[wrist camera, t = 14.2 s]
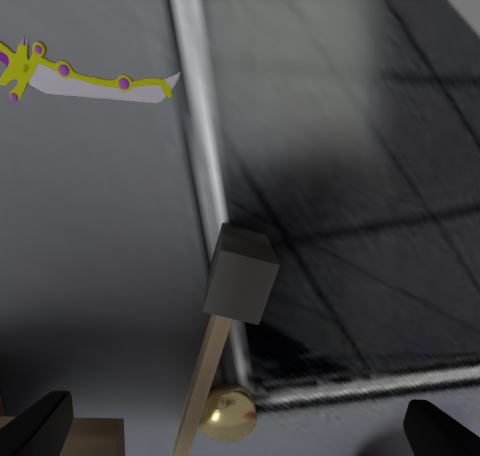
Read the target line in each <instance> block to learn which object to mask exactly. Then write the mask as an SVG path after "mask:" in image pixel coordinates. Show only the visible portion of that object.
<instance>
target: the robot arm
mask: <svg viewBox="0 0 480 456" xmlns="http://www.w3.org/2000/svg"><path fill="white" fill-rule="evenodd" d="M72 422H73V406H72V396H71V393H70V392H69V391H61V390H55V391H52V392H50V393H48V394H47V395H45V396H44V397H43V398H41V399H40V400H39V401H37V402H36V403H34V404H33V405H32V406H30V407H29V408H28V409H26V410H25V411H24V412H22V413H21V414H19V415H18V416H17V417H15V418H14V419H13V420H11V421H10V422H8V423H7V424H6V425H4V426H3V427H2V428H0V456H60V453H61V451H62V448H63V446H64V443H65V441H66V438H67V436H68V433H69V431H70V428H71V426H72ZM403 427H404V431H405V434H406V437H407V439H408V441H409V444H410V446H411V449H412V451H413V453H414V456H480V437H478V436H477V435H476V434H474V433H473V432H471V431H470V430H469V429H467V428H466V427H464V426H463V425H462V424H460V423H459V422H457V421H456V420H455V419H453V418H452V417H450V416H449V415H448V414H446V413H445V412H443V411H442V410H440V409H439V408H438V407H436V406H435V405H433V404H432V403H431V402H429V401H427V400H411V401H410V402H409V405H408V408H407V411H406V415H405V418H404V422H403Z"/></svg>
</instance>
